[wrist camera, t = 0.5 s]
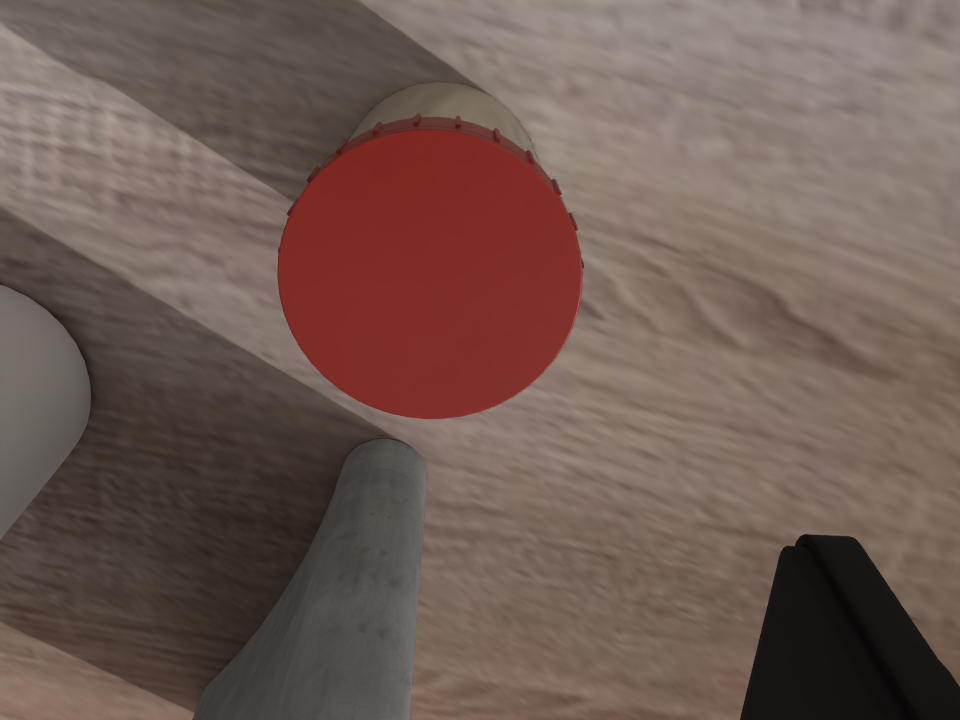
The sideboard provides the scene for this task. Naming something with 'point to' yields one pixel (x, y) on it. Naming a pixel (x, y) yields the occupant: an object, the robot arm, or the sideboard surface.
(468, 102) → the jam jar
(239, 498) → the sideboard surface
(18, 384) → the milk bottle
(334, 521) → the hip flask
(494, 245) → the jam lid
